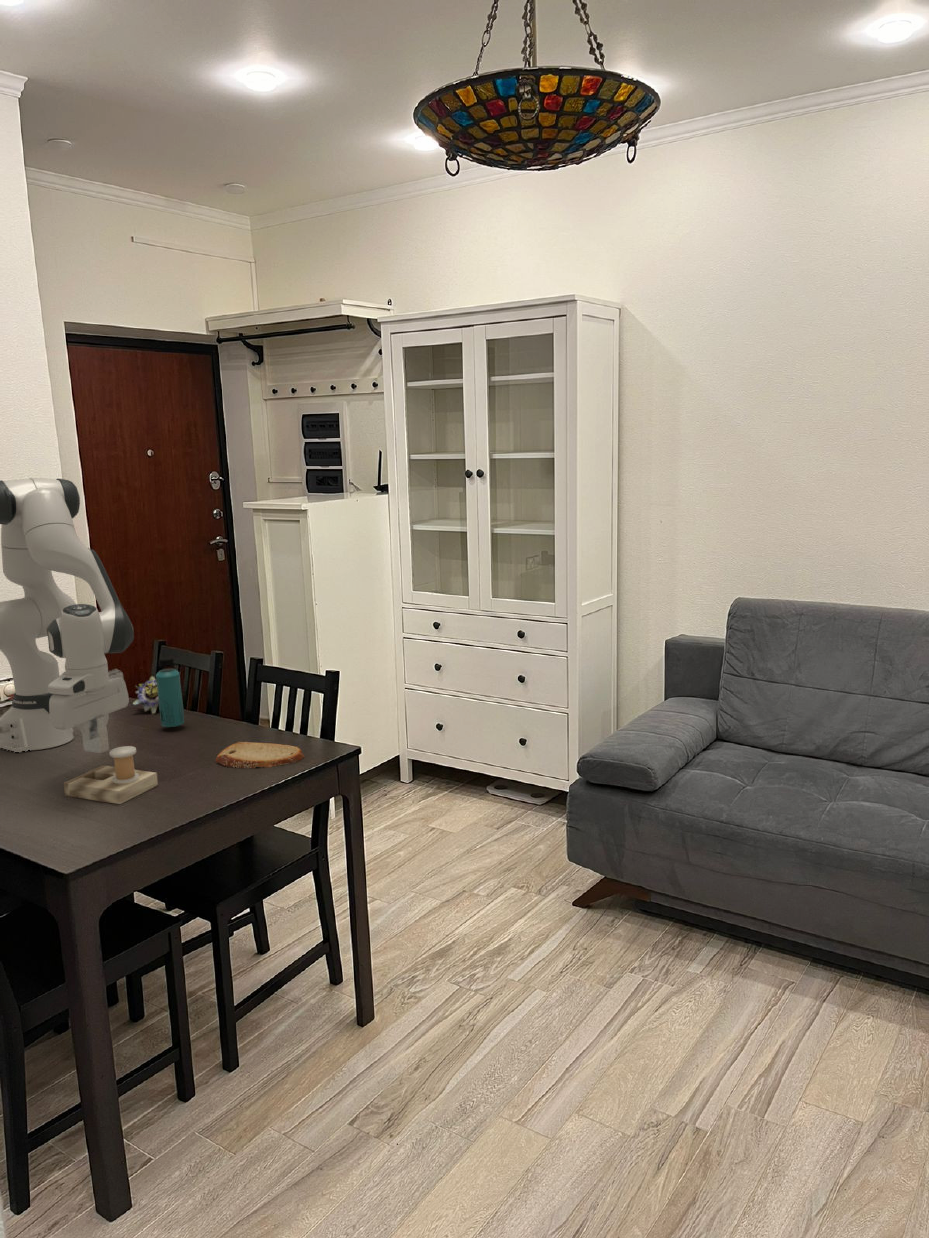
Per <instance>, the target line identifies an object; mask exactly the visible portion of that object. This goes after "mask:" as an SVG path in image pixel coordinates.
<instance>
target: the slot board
mask: <svg viewBox="0 0 929 1238" xmlns="http://www.w3.org/2000/svg"><path fill="white" fill-rule="evenodd" d="M134 771H135V773H138V774H139V779H138V780H137V781H135V782H133V783H129V784H122V785H119V784H114V783H113V780H112V778H113V777H114V776H115V775H116V772H115V766H110V765H100V766H99V767H95V768H93V769H91V770H89V771H87V772H85V773H83V774H80V775H78V776H76V777H74V778H71V779H69V780H66V781H64V782H63V790H64V796H66V797H73V798H77V797H78V798H79V799H85V800H90V801H96V802H97V801H98V802H104V803H108V804H109V803H110V804H116V805H121V804H124V803H126V802H128V801H130V800H132V799H133V798H135V797H137V796H139V795H141V794H144V793H145V792H147V791H149V790H151V789H153V788H155V787H158V786H159V784H158V773H157V772H153V771H145V770H139V769H134Z"/></svg>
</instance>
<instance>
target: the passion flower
mask: <svg viewBox="0 0 929 1238" xmlns="http://www.w3.org/2000/svg"><path fill="white" fill-rule="evenodd" d="M135 688H136V690H137V691H134V693H135V694H137V697H136V699H135V700H133V701H132V703H131V705H132V706H138V705H140V704H142V707H143V712H144V713H146V712H148V711H150V712H151V715H155V714H156V712H157V709H158V707H159V703H158V702H159V700H158V689H157V680H156V677H155V676H153V675H152V676H150V677H149V679H148V680H146V681H145V682H143V683H139V684H138V686H137V685H135Z"/></svg>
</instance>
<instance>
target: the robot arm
mask: <svg viewBox="0 0 929 1238" xmlns="http://www.w3.org/2000/svg"><path fill="white" fill-rule="evenodd" d="M80 496H81V495H80V494H79V490H78V488H77V486H76V485H75V483H74V482H73V481H71V480H69V479H64V478H56V479H53V478H44V477H42V478H40V477H39V478H37V477H36V478H35V477H34V478H33V477H32V478H31V477H30V478H24V479H21V478H20V479H12V480H5V481H4V480H0V525H1V529H0V530H1V533H0V539H1V540H0V543H1V544H0V546H1V559H2V572H3V574H4V576H5V578H6V579H7V580H8V581H10V582H11V583H13V584H15V585H18V586H20V587H22V589H23V593H24V597H22V598H15V599H11V600H4V601H0V652H1V653H2V654H3V655H4V656H5V658H6V660H7V661H8V664H9V666H10V670H11V674H12V679H13V685H14V693H12V694H9V695H8V697H9V698H8V700H12V701H11V706H10V707H9V709H8V710H7V711H6V712H4V714H3V713H2V715H1V716H0V747H2V748H4V749H9V750H12V751H14V752H13V753H15V752H19V753H23V752H22V751H25V752H29V751H28V750H30V751H37V750H44V749H51V748H55V747H58V746H61V745H62V746H63V745H65V744H67V743H70V742H71V741H73V739H74V737H75V736H74V732H75V731H74V729H73V728H74V727H76V728H77V729H78V730H79V732H80V733H81V736H82V737H83V738H82V737H81V738H82V741H83V740H85V741H88V740H91V739H93V731H89V730H88V728H87V726H88V721H90V720H93V719H94V718H96V717H99V716H102V715H105V717H106V726H107V725H108V721H109V720H110V717H109V715H110V714H112V713H113V712H116V711H119V710H121V709H124V708H127V707H128V705H129V703H130V699H129V698H130V697H129V692H128V689H127V684H126V681H125V679H124V673H123V672H122V671H121V670H119V669H118V668H114V669H113V668H112V669H111V670H109V666H108V660H107V658H106V654H119V653H120V654H121V653H123V652H125V651H126V650H127V648H128V647H129V646H130V645H131V644H132V643H133V641H134V638H135V635H134V633H135V632H134V626H133V624H132V622H131V620H130V617H129V615H128V613H127V612H126V610H125V609H124V607H123V605H122V603H121V601H120V600H119V599H120V598H119V597H118V595H117V592H116V590H115V588H114V586H113V584H112V582H111V579H110V577H109V575H108V573H107V571H106V568H105V567H104V565H103V561H102V560H101V558H100V557H99V555H98V554H97V552H96V551H95V550H94V549H91V548H89V547H87V546H86V545H85V544H84V543H83V542H82V540H81V539H80V538H79V536H78V534H77V532H76V528H75V524H74V520H73V519H75V518H76V516H77V515H78V514H79V512H80V506H81V497H80ZM52 572H56V573H62V574H66V575H70V576H72V577H77V578H79V579H81V580H83V581H85V582H86V583H87V584H88V585H89V586H90V589H91V591H92V593H93V595H94V597H95V600H96V601H97V604H98V606H99V609H100V612H99V610H98V608H97V607H96V606H95V605H92V604H88V603H87V604H86V603H79V604H77V603H76V601H75V600H74V599H73V598H72V597H71V596H70V595H68V594H66V593H65V592H64V591H62V590H61V589H60V588H59V586H58V585H57V583H56V580H55V578H54V577H53V576H54V575H53V573H52ZM45 637H47V642H48V643H47V644H48V650H49V653H48V652H46V651H42V650H40V649H39V647H38V645H37V641H36V640H37V639H40V638H45ZM50 653H51V654H50ZM52 654H53V655H52ZM55 656H56V657H57V658H60V659H65V662H64V663H65V664H64V669H65V670H64V672H62V673H61V674H60V669H59V668H60V667H59V662H58V661H57V658H55ZM4 749H3V750H4Z"/></svg>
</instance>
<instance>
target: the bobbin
mask: <svg viewBox="0 0 929 1238" xmlns="http://www.w3.org/2000/svg"><path fill="white" fill-rule="evenodd" d="M136 753H137V748H136V747H135V746H132V745H127V746H125V745H124V746H118V747H115V748H112V749H109V757H110V758H113V762H114V767H115V772H116V775H115V776H114V777H113V778H112V780H113V783H114V784H119V785H122V784H129V783H133V782H135V781H137V780H138V779H139V774H138V773H135V771H134V770H135V763H134V755H135V754H136Z"/></svg>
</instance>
